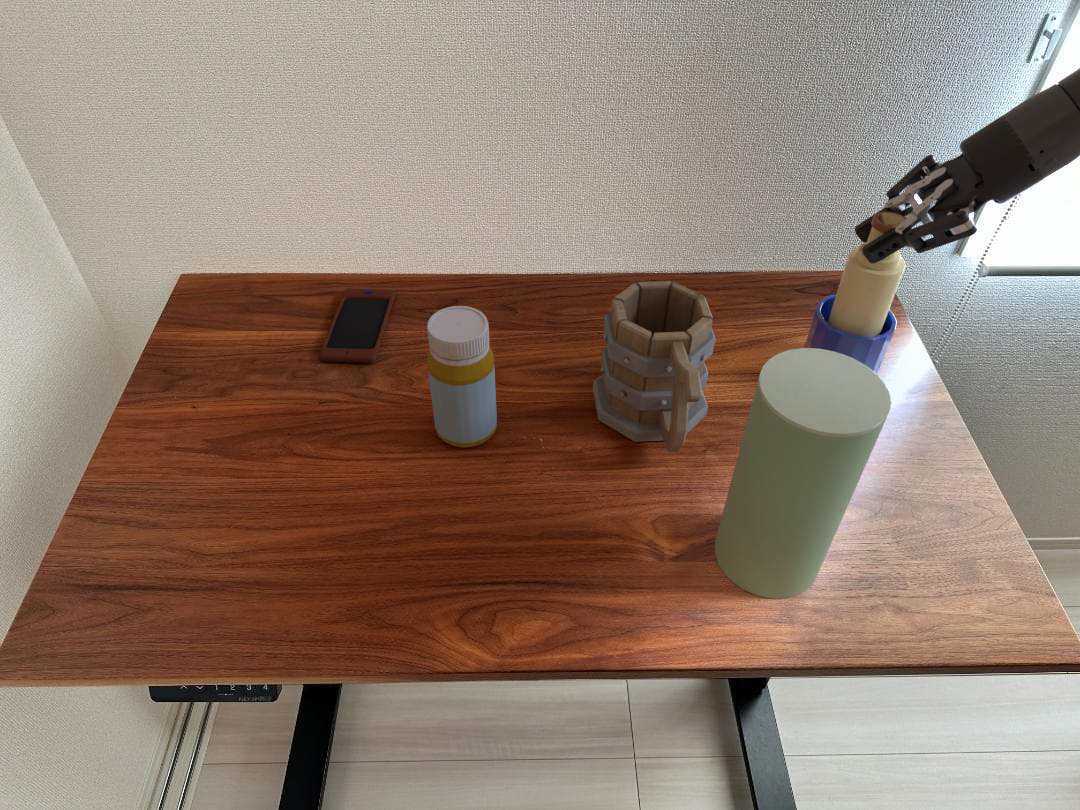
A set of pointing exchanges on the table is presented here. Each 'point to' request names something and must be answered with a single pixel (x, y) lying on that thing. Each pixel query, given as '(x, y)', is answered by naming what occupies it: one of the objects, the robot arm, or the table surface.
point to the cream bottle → (868, 285)
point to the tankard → (655, 363)
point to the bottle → (461, 376)
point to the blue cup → (849, 337)
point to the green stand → (798, 468)
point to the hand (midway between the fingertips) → (863, 246)
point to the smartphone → (358, 326)
